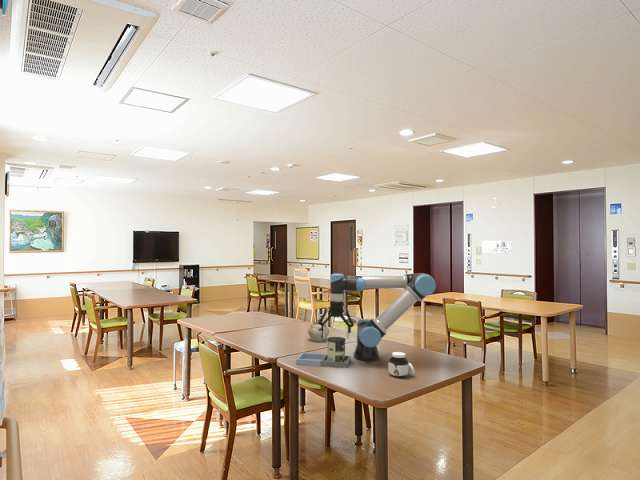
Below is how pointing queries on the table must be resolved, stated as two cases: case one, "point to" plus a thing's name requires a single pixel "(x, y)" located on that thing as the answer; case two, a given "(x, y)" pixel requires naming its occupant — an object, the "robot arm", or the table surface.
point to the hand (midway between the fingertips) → (335, 338)
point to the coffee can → (336, 349)
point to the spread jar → (400, 366)
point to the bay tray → (323, 362)
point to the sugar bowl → (317, 332)
